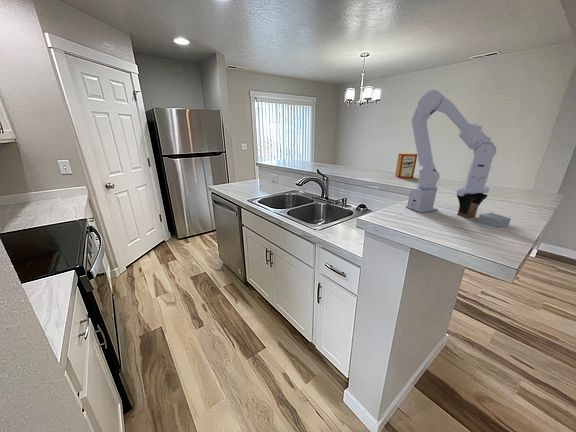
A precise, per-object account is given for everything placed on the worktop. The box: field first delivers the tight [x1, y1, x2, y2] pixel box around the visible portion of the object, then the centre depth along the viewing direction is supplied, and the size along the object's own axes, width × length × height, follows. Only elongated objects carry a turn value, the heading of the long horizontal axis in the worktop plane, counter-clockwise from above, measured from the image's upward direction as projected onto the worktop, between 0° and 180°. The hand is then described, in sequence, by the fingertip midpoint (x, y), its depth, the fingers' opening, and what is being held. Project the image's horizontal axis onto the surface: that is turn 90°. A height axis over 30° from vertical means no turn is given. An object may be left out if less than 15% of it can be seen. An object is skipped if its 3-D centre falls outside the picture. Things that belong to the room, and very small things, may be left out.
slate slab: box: [477, 212, 512, 229], centre depth 82 cm, size 6×6×3 cm
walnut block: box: [457, 203, 480, 219], centre depth 89 cm, size 4×4×5 cm
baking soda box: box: [394, 152, 418, 179], centre depth 159 cm, size 10×6×16 cm
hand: (467, 212), depth 89 cm, fingers closed on walnut block, 4 cm apart
